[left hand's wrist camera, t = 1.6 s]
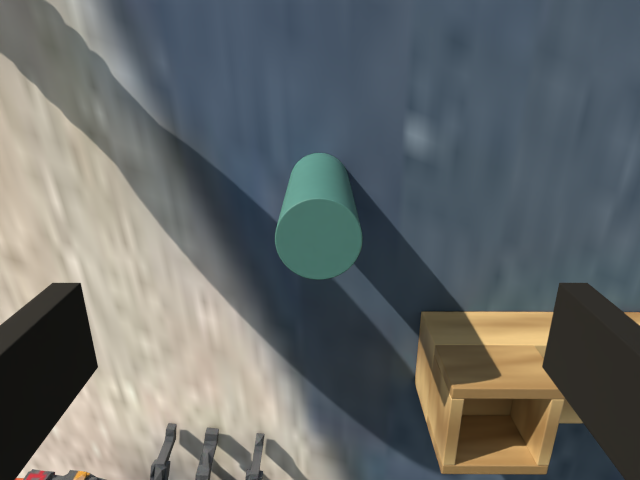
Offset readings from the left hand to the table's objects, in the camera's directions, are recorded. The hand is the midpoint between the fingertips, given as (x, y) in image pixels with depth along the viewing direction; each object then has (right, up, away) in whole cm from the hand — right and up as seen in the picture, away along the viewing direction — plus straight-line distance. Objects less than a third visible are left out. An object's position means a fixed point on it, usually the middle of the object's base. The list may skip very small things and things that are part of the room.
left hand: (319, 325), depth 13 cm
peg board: (+19, -5, +20) cm, 28 cm away
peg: (0, +6, +15) cm, 16 cm away
